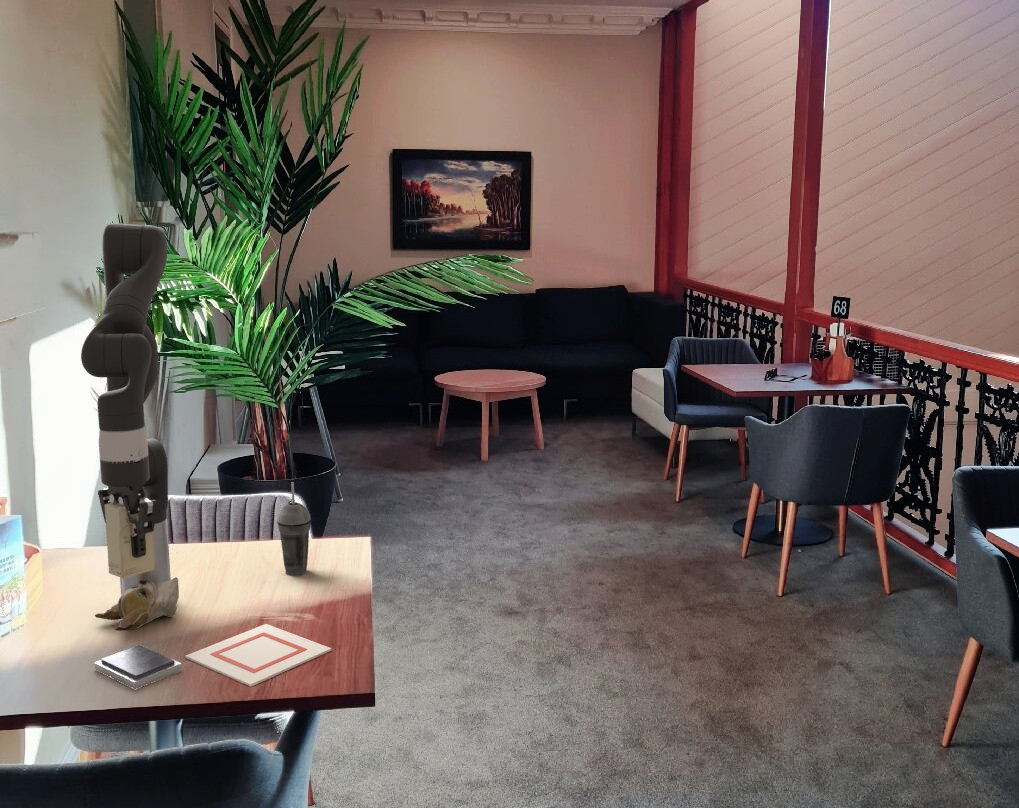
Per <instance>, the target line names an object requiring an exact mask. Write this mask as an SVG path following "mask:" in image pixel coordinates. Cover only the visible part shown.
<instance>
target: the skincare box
mask: <svg viewBox="0 0 1019 808" xmlns="http://www.w3.org/2000/svg"><path fill="white" fill-rule="evenodd" d="M128 507H129V506H128ZM130 515H131V514H130ZM137 516H139V513H137V514H133V515H131V517H137ZM105 518H106V523H105V529H106V532H105V533H106V545H107V546H106V547H107V548H106V549H107V562H108V563H107V565H108V573H109V574H110V575H112V576H115V577H118V578H119V579H120V578H127V577H131V576H134V575H138V574H141V573H145V572H148V571H151V570H154V551H153V534H152V532H149V533H146V535H145V540H146V554H145V555H144V556H142V557H138V558H135V557H133V556H132V547H131V536H132V535H131V532H130V528H129V524H128V523H127V522H126V511H125V507H121V506H120V504H119V503H117V504H112V503H108V504H105ZM137 524H138V521H136V522H135V525H136V529H137ZM146 525H148V522H146Z"/></svg>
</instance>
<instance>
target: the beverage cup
mask: <svg viewBox="0 0 1019 808" xmlns="http://www.w3.org/2000/svg"><path fill="white" fill-rule="evenodd" d="M290 485H291V502H290V503H287V504H285V505H284V506H283V507H282V508H280V511H279V514H278V516H277V521H276V524H277V528H278V531H279V534H280V543H281V551H282V557H283V558H282V560H283V565H284V570H285V574H286V575H287V576H293V577H295V576H298V577H299V576H302V575H305V574H306V573H307V572H308V571H307V569H308V563H309V562H308V559H309V542H310V541H309V539H310V530H311V524H312V523H311V522H312V519H311V514H310V511H309V510H308V509H307V507H306V506H305V505H304V504H302V503H299V502H296V500H295V484H294V481H291V484H290Z"/></svg>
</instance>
